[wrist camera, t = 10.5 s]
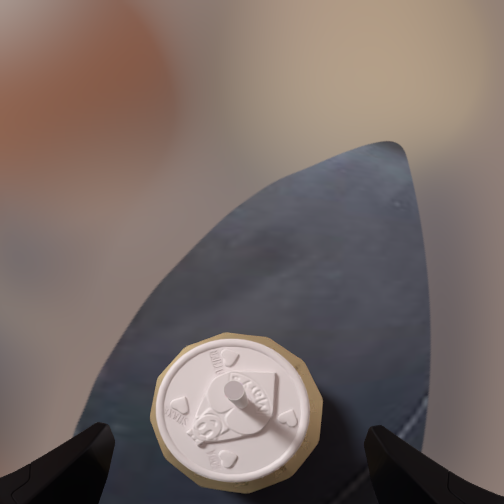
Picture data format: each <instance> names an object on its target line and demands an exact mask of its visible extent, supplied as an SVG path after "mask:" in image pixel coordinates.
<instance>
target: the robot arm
mask: <svg viewBox="0 0 504 504" xmlns="http://www.w3.org/2000/svg"><path fill="white" fill-rule="evenodd" d="M114 446H115V439H114V436H113V434H112V432H111V429H110V427H109V425H108V424H105V423H101V422H97V423H95V424H94V425H92V426H90V427H89V428H87V429H86V430H84V431H83V432H81V433H79V434H78V435H76V436H75V437H73V438H71V439H70V440H68V441H67V442H65V443H63V444H62V445H60V446H58V447H57V448H55V449H53V450H52V451H50V452H48V453H47V454H45V455H43V456H42V457H40V458H38V459H36V460H35V461H33V462H31V464H28V465H26V466H24V467H22V468H21V469H18V470H17V471H15V472H13V473H10V474H8V475H6V476H3V477H1V478H0V504H98V503H99V500H100V497H101V494H102V492H103V489H104V486H105V483H106V480H107V477H108V473H109V468H110V464H111V459H112V455H113V450H114ZM364 448H365V453H366V457H367V462H368V467H369V472H370V477H371V481H372V484H373V488H374V490H375V493H376V496H377V499H378V502H379V504H504V496H500V495H497V494H495V493H492V492H490V491H488V490H485V489H483V488H481V487H478V486H476V485H474V484H472V483H470V482H468V481H466V480H464V479H462V478H461V477H459V476H457V475H455V474H454V473H452V472H451V471H448V470H447V469H446V468H444V467H443V466H441V465H439V464H438V463H436V462H435V461H433V460H432V459H430V458H428V457H427V456H426V455H424V454H423V453H421V452H420V451H418V450H417V449H415V448H414V447H412V446H411V445H409V444H408V443H406V442H405V441H403V440H402V439H401V438H399V437H398V436H396V435H395V434H393V433H392V432H391V431H389V430H388V429H386V428H385V427H384V426H382V425H377V426H372V427H370V428H369V430H368V433H367V436H366V439H365V442H364Z"/></svg>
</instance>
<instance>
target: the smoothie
mask: <svg viewBox="0 0 504 504" xmlns="http://www.w3.org/2000/svg"><path fill="white" fill-rule="evenodd" d="M309 418H310V405H309V398H308V394H307V391H306V388H305V385H304V383H303V381H302V379H301V377H300V375H299V374H298V372H297V371H296V370H295V368H294V367H293V366H292V365H291V364H290V363H289V362H288V361H287V360H286V359H285V358H284V357H283V356H281V355H280V354H279V353H277V352H276V351H274V350H273V349H271V348H269V347H267V346H265V345H262V344H259V343H257V342H253V341H249V340H244V339H220V340H214V341H210V342H207V343H204V344H201V345H199V346H197V347H195V348H193V349H191V350H189V351H188V352H187V353H185V354H184V355H182V356H181V357H180V358H179V359H178V360H177V361H176V362H175V363H174V364H173V365H172V366H171V367H170V369H169V370H168V372H167V373H166V375H165V376H164V378H163V380H162V382H161V385H160V387H159V391H158V394H157V400H156V419H157V424H158V428H159V431H160V434H161V437H162V439H163V441H164V443H165V444H166V446H167V448H168V449H169V450H170V452H171V453H172V454H173V455H174V457H175V458H176V459H177V460H178V461H179V462H181V463H182V464H183V465H184V466H186V467H187V468H188V469H190V470H191V471H193V472H195V473H197V474H199V475H201V476H203V477H206V478H209V479H213V480H217V481H223V482H245V481H251V480H255V479H259V478H261V477H264V476H266V475H269V474H271V473H273V472H274V471H276V470H278V469H279V468H280V467H282V466H283V465H284V464H286V463H287V462H288V461H289V460H290V459H291V458H292V457H293V455H294V454H295V453H296V452H297V450H298V449H299V447H300V446H301V444H302V442H303V440H304V438H305V435H306V432H307V429H308V425H309Z"/></svg>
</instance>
